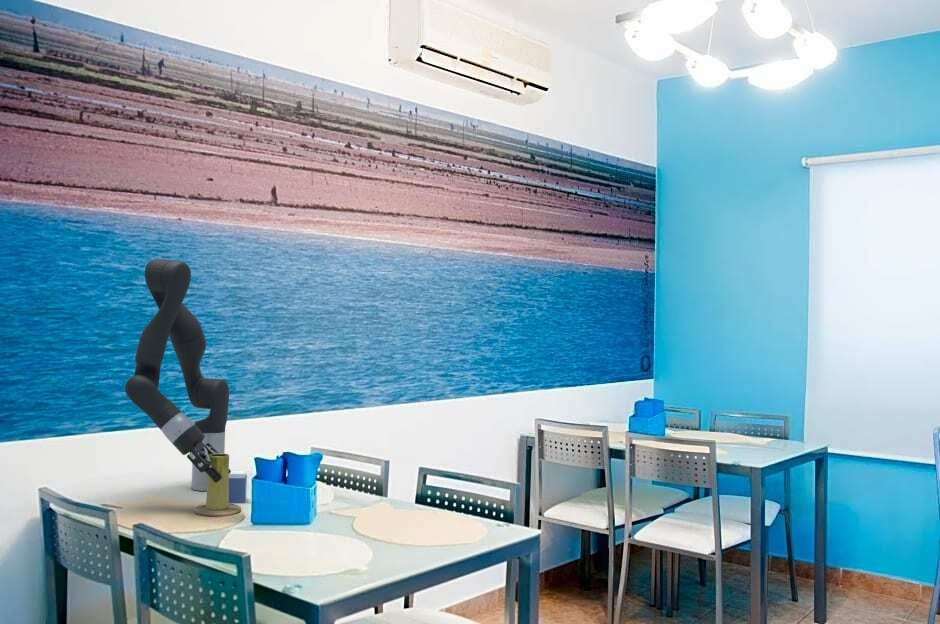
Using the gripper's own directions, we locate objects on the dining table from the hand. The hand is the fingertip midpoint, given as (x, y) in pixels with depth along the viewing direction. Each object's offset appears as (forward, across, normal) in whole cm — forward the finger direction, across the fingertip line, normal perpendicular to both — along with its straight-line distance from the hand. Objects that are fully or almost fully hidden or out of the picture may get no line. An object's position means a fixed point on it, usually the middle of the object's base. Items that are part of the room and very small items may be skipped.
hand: (224, 477), depth 230 cm
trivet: (+6, 0, +7) cm, 9 cm away
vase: (+5, 0, +7) cm, 9 cm away
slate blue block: (+7, +13, +6) cm, 16 cm away
